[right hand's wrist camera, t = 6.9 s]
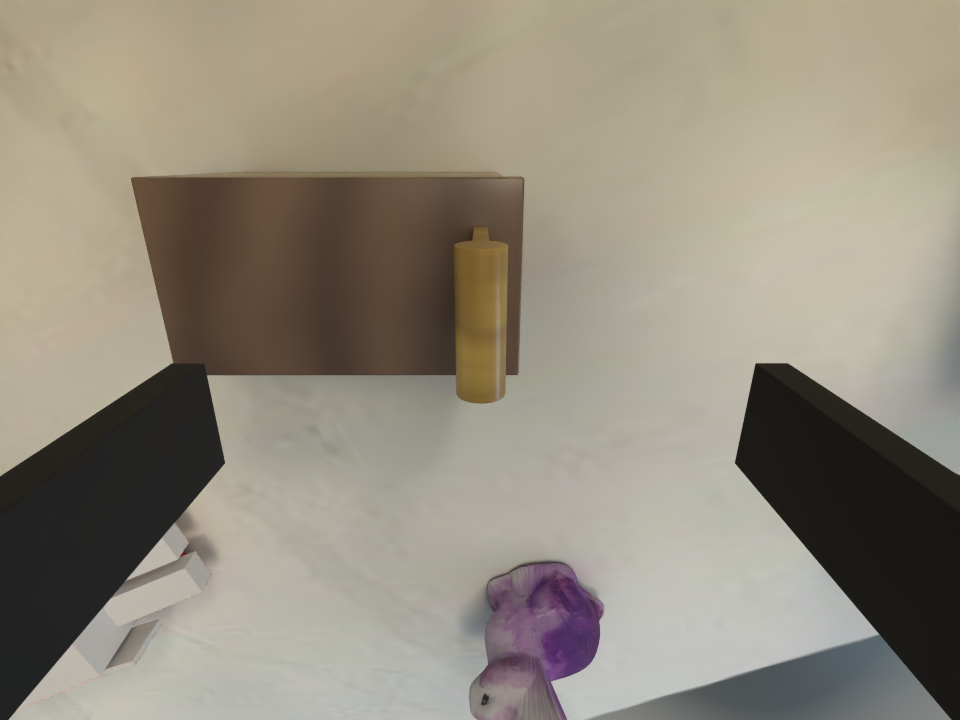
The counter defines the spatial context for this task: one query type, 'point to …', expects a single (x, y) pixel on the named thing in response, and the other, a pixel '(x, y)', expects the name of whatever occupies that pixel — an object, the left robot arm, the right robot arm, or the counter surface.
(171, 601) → the toy
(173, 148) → the counter surface
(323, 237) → the lid
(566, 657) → the figurine
